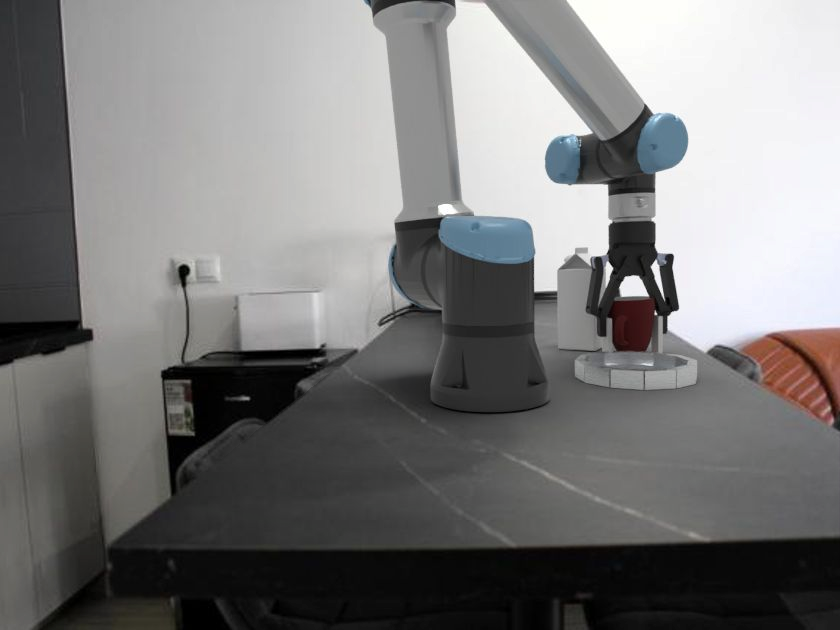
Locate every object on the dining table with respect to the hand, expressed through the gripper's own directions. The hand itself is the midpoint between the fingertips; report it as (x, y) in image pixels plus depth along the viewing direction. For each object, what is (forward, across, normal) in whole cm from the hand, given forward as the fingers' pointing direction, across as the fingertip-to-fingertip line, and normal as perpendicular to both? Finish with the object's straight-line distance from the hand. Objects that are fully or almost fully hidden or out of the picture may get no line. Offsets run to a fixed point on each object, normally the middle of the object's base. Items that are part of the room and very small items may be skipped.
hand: (632, 354), depth 106 cm
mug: (+1, 0, 0) cm, 1 cm away
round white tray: (0, -6, -16) cm, 17 cm away
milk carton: (+1, -5, +12) cm, 13 cm away
